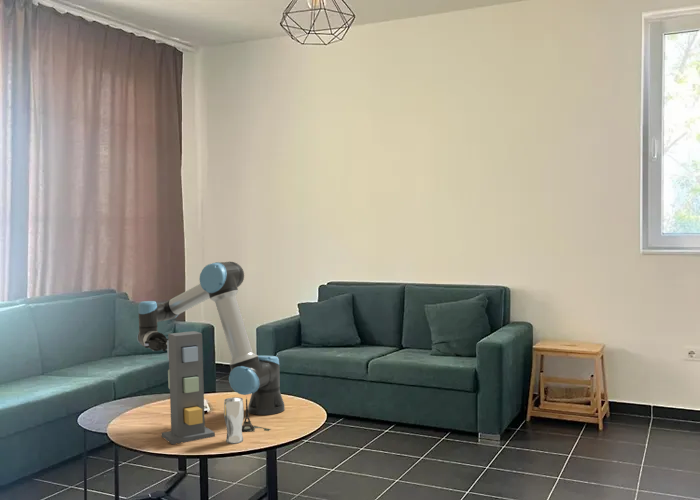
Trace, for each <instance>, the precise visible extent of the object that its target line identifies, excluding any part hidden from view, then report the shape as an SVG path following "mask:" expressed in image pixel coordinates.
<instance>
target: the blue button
mask: <svg viewBox="0 0 700 500" xmlns="http://www.w3.org/2000/svg"><path fill="white" fill-rule="evenodd" d="M166 352H167V360H168V361H169V341H167V350H166ZM181 353H182V362H193V361H198V347H196V346H185V347H181Z"/></svg>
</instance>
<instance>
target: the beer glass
mask: <svg viewBox="0 0 700 500" xmlns="http://www.w3.org/2000/svg"><path fill="white" fill-rule="evenodd" d="M223 401H224V403H223V417H224V422H225V426H226V427H225V428H226V429H227V430H226V440H225V442H226V443H227V444H231V445H234V444H241V443H242V442H243V441H244V437H243V432H242V426H243V424H244V417H245V415H244V413H245V409H244V407H245V406H244V399H243V398H242V397H238V396H237V397H235V396H234V397H233V396H232V397H227V398H225V399H223Z"/></svg>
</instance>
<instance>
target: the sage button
mask: <svg viewBox="0 0 700 500" xmlns="http://www.w3.org/2000/svg"><path fill="white" fill-rule="evenodd" d="M167 377H168V378H167V381H168V383H167V384H168V386H167V387H168V389H169V390H170V375H169V369H168V370H167ZM182 387H183V392H184V393H190V392H196V391H199V377H197V376H188V377H182Z"/></svg>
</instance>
